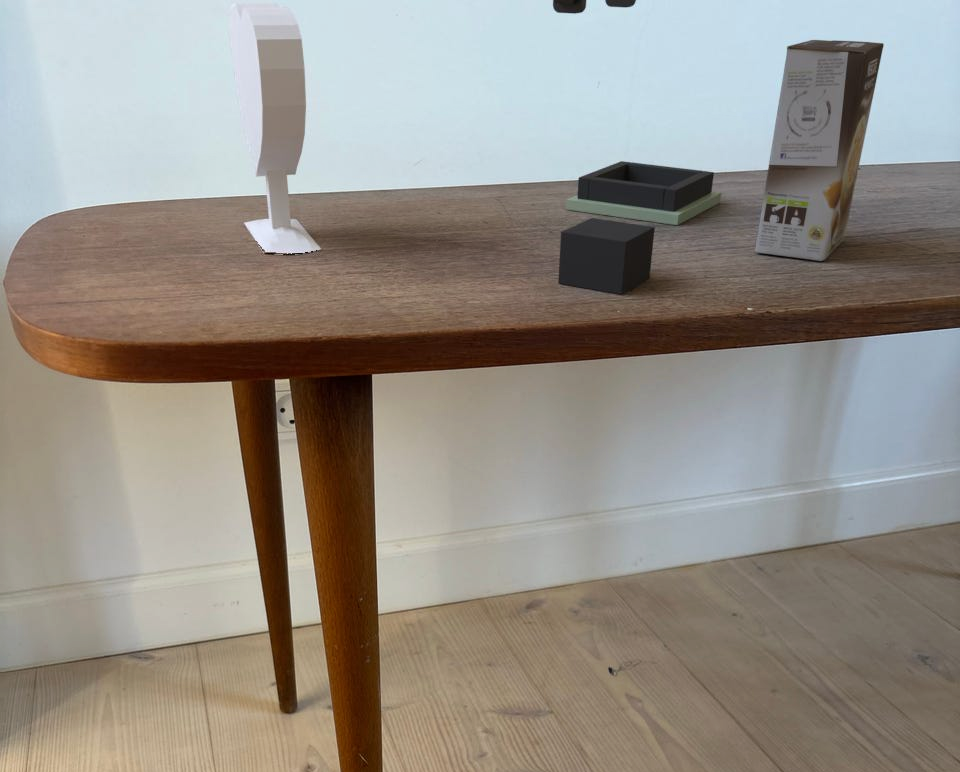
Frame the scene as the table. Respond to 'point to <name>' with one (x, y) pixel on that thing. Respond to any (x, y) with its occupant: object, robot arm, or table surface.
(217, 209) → the table surface
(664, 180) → the base pad
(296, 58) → the heart sculpture
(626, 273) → the black block
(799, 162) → the coffee box
